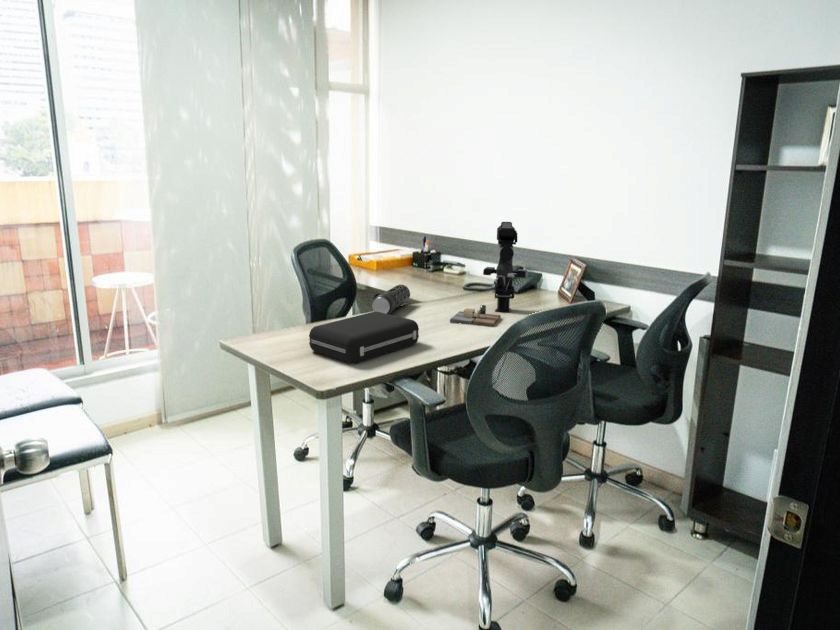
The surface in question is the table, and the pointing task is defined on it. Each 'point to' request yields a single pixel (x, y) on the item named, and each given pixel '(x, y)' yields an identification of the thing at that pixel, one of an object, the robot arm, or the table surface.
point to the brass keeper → (470, 313)
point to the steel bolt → (481, 312)
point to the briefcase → (363, 336)
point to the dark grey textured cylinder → (391, 299)
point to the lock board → (487, 321)
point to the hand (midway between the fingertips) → (504, 291)
